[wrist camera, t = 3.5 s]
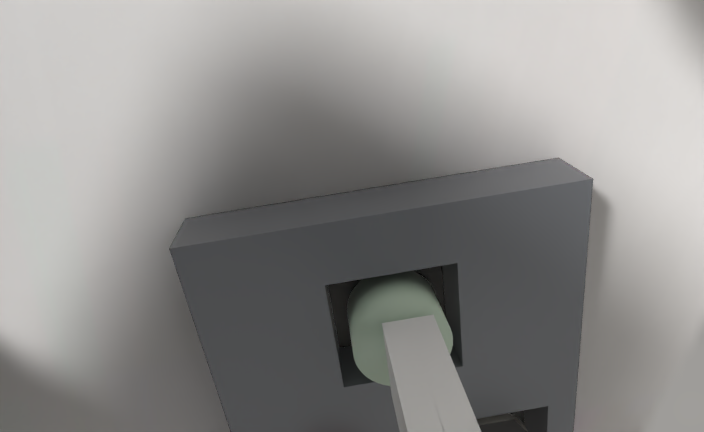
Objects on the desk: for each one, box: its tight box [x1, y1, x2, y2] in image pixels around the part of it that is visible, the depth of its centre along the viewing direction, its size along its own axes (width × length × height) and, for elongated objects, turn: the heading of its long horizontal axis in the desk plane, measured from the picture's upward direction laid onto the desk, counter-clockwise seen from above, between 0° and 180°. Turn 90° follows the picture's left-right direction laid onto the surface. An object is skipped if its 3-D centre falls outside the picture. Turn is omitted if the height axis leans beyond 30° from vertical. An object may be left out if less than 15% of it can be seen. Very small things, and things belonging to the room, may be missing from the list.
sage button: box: [347, 271, 453, 386], centre depth 15 cm, size 3×3×2 cm
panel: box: [169, 158, 593, 432], centre depth 17 cm, size 12×14×2 cm
